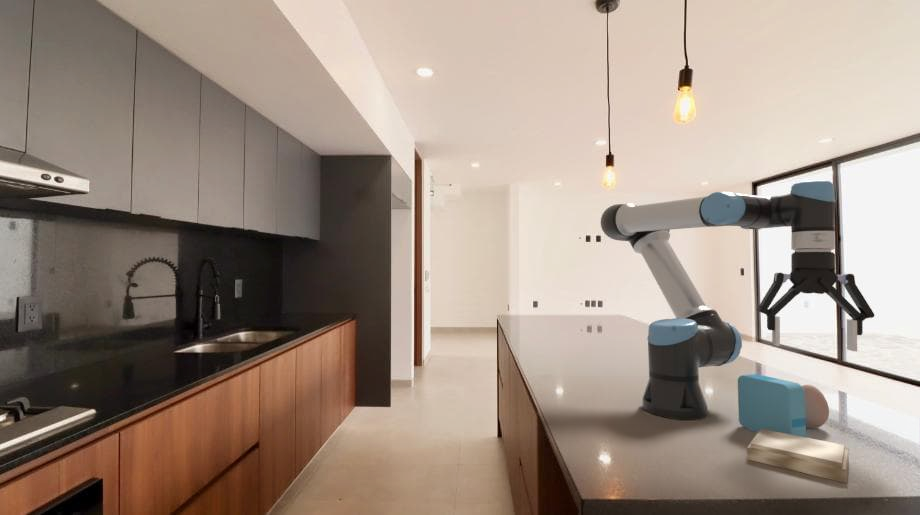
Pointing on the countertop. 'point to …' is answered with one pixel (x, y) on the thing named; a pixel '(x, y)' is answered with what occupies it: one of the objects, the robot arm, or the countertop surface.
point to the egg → (815, 407)
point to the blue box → (771, 405)
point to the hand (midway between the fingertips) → (812, 347)
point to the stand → (800, 454)
